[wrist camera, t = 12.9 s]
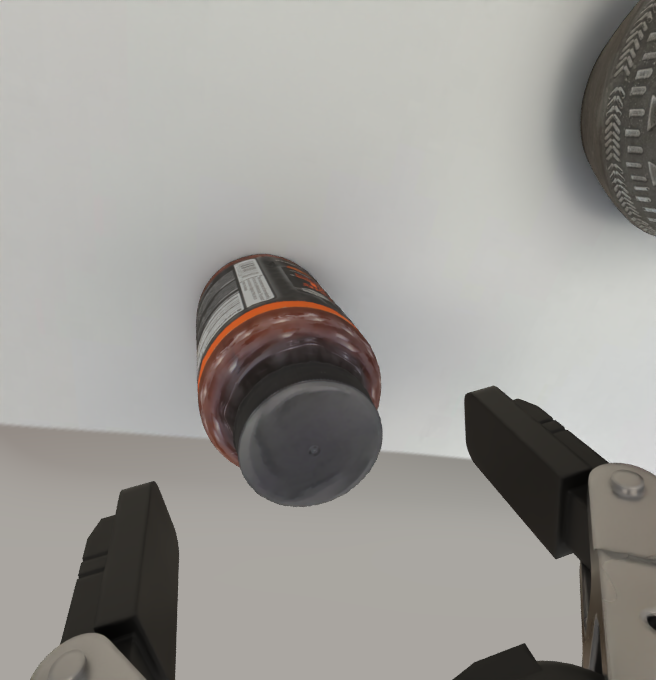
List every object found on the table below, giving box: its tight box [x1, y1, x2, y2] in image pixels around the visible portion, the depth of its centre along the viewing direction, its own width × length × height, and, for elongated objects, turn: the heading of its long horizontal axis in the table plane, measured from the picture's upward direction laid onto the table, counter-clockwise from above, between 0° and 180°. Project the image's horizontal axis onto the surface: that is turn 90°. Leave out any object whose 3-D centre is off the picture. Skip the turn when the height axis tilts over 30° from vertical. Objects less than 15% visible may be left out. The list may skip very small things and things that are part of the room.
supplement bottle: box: [196, 254, 382, 507], centre depth 18 cm, size 6×6×11 cm
